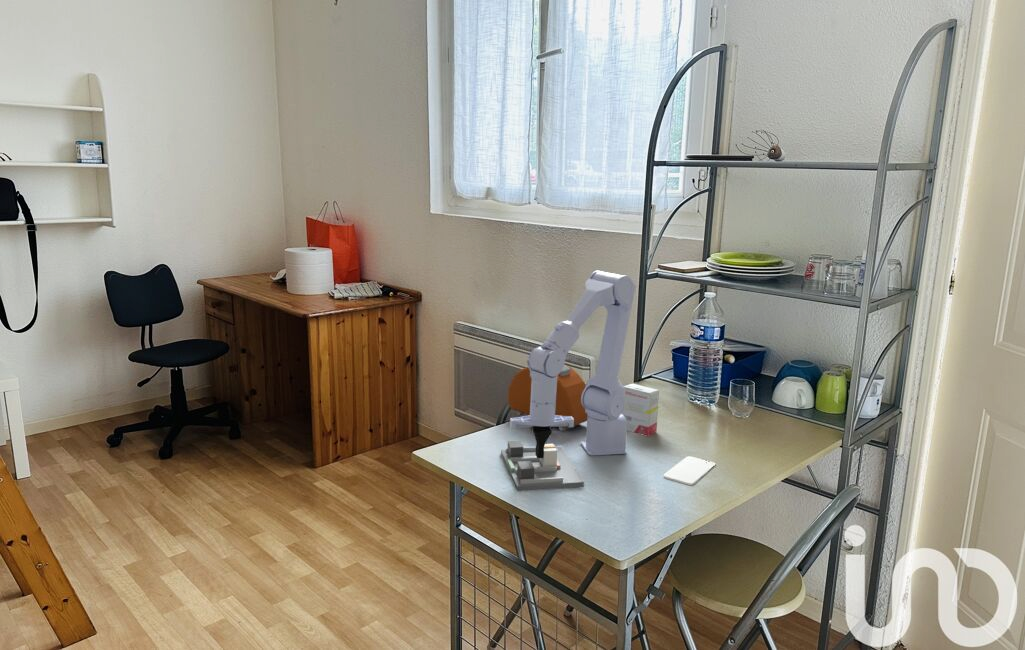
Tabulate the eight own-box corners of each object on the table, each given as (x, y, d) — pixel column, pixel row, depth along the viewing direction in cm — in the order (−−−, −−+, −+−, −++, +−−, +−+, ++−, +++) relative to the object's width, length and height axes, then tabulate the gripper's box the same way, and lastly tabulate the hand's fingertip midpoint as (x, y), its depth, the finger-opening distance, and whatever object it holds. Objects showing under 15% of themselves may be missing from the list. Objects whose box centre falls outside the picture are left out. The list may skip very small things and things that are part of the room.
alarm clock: (592, 427, 202) (595, 367, 198) (570, 435, 196) (573, 373, 192) (528, 405, 218) (530, 349, 214) (506, 412, 212) (507, 354, 208)
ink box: (657, 431, 200) (660, 389, 197) (648, 437, 196) (651, 393, 193) (629, 423, 205) (631, 382, 202) (619, 428, 201) (622, 386, 199)
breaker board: (561, 451, 186) (561, 435, 185) (583, 487, 167) (584, 469, 166) (500, 454, 183) (501, 438, 182) (516, 491, 164) (517, 473, 163)
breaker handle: (552, 459, 177) (553, 442, 176) (556, 466, 173) (557, 449, 172) (539, 460, 176) (540, 443, 175) (543, 467, 173) (544, 450, 172)
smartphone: (717, 463, 180) (692, 484, 168) (716, 466, 181) (691, 487, 169) (688, 455, 184) (661, 475, 173) (687, 458, 185) (661, 478, 173)
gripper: (569, 393, 176) (565, 448, 179) (508, 395, 173) (505, 450, 176) (578, 403, 169) (574, 460, 172) (514, 405, 166) (511, 462, 169)
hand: (540, 456), depth 174 cm, fingers closed, pressing on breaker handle
